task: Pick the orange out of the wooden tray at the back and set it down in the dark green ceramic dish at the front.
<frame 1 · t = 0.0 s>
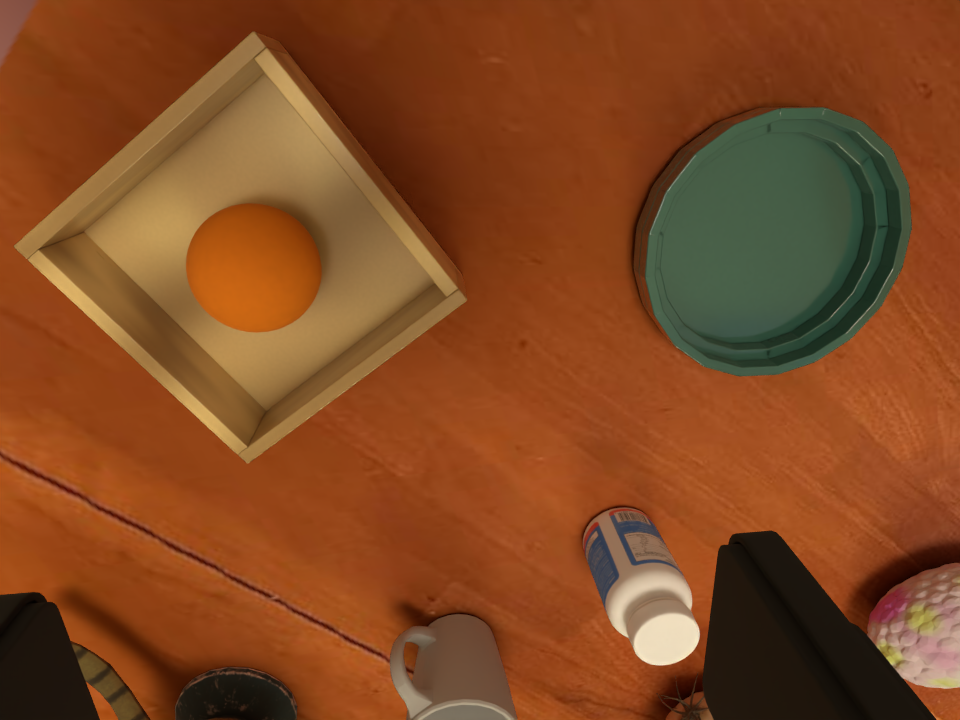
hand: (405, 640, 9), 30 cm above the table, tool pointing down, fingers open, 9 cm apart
wooden tray: (272, 252, 37), on the table
teapot: (204, 682, 49), on the table
sculpture: (702, 709, 54), on the table
pill bottle: (617, 534, 46), on the table
cup: (445, 630, 49), on the table
orange: (256, 268, 33), point 4 cm above the table, touching wooden tray
decorative item: (919, 586, 51), on the table
dish: (755, 242, 39), on the table
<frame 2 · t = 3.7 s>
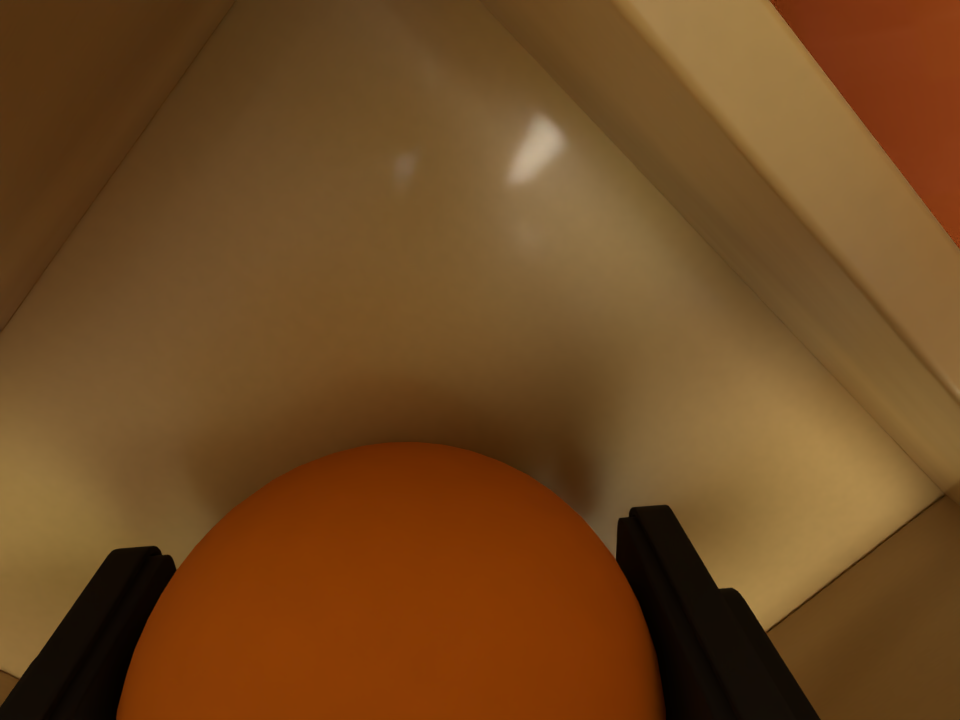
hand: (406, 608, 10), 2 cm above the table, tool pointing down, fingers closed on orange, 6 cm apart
wooden tray: (410, 516, 12), on the table
orange: (402, 697, 8), point 4 cm above the table, touching wooden tray, gripper
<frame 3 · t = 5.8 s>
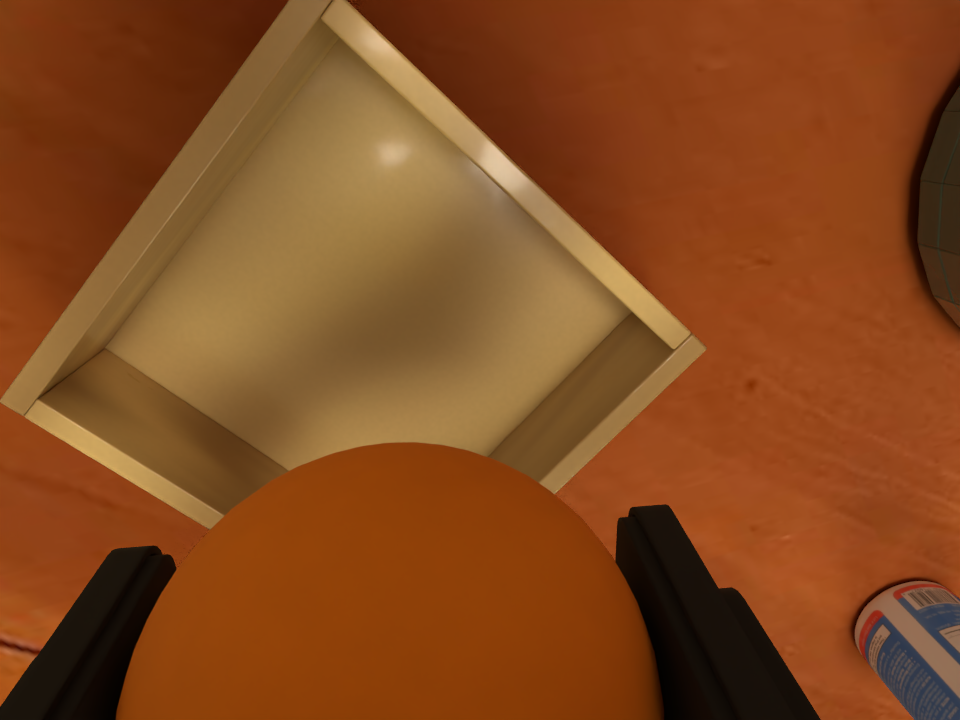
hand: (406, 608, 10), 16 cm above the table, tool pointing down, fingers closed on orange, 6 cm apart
wooden tray: (375, 323, 25), on the table
pill bottle: (900, 616, 33), on the table
orange: (402, 697, 8), point 18 cm above the table, touching gripper
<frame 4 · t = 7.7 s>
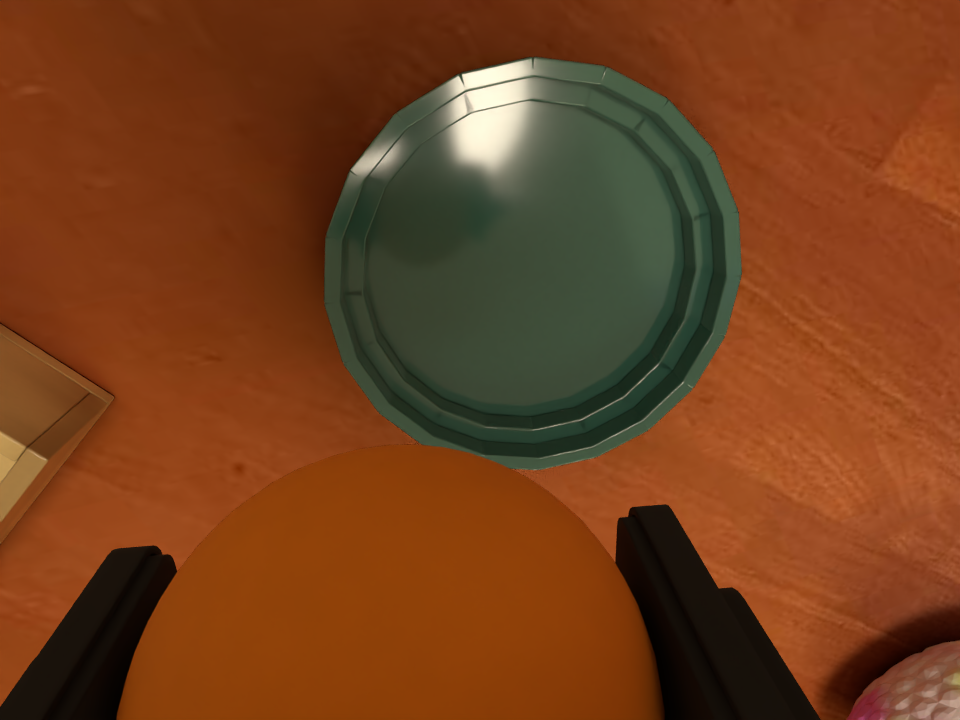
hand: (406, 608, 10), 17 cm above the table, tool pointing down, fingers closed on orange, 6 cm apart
orange: (402, 699, 8), point 19 cm above the table, touching gripper
decorative item: (914, 668, 37), on the table
dish: (525, 270, 26), on the table
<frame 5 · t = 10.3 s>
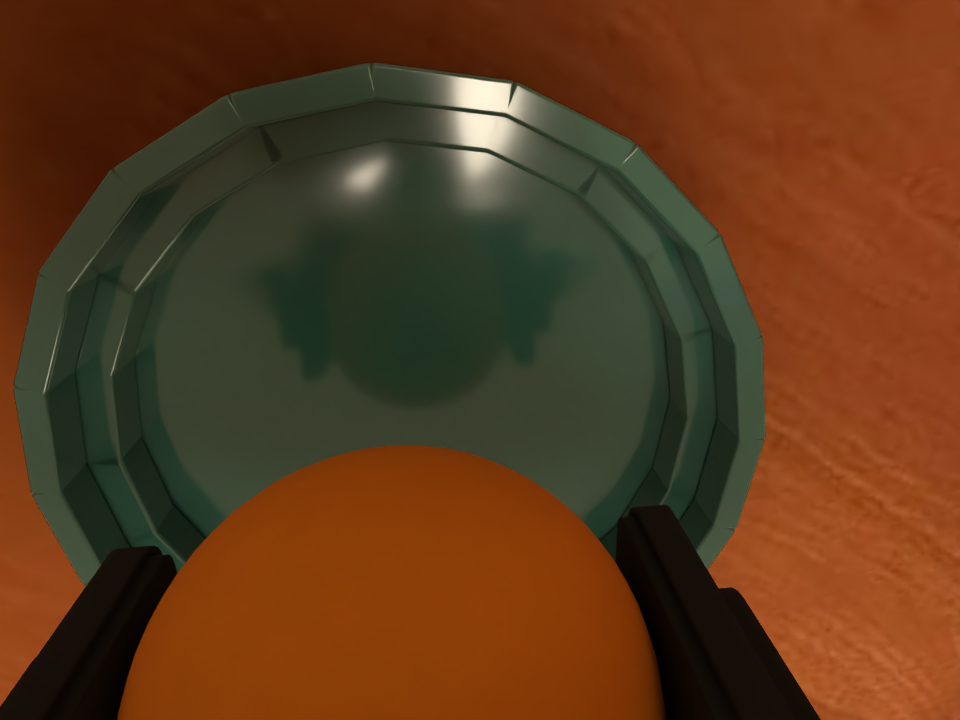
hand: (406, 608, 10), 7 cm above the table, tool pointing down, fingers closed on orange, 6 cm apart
orange: (403, 700, 8), point 8 cm above the table, touching gripper
dish: (412, 406, 16), on the table
when the fingers open (2 cm above the table, at t = 12.0 s): orange stays where it is, resting on dish.
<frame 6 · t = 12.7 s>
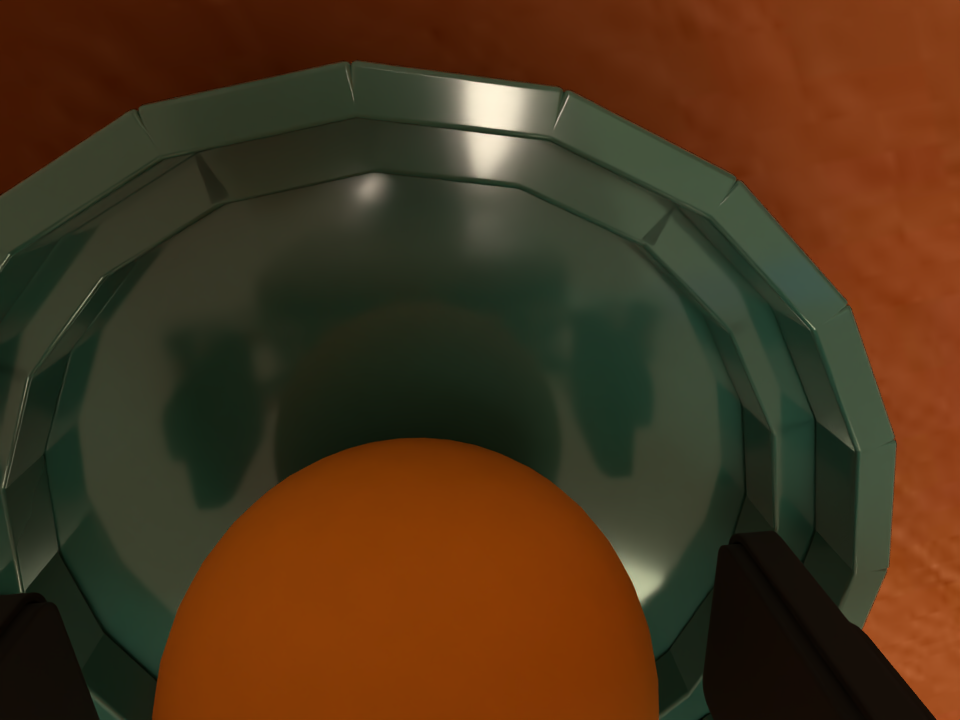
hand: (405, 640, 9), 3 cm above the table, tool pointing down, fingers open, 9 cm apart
orange: (415, 674, 9), point 4 cm above the table, touching dish
dish: (412, 504, 12), on the table
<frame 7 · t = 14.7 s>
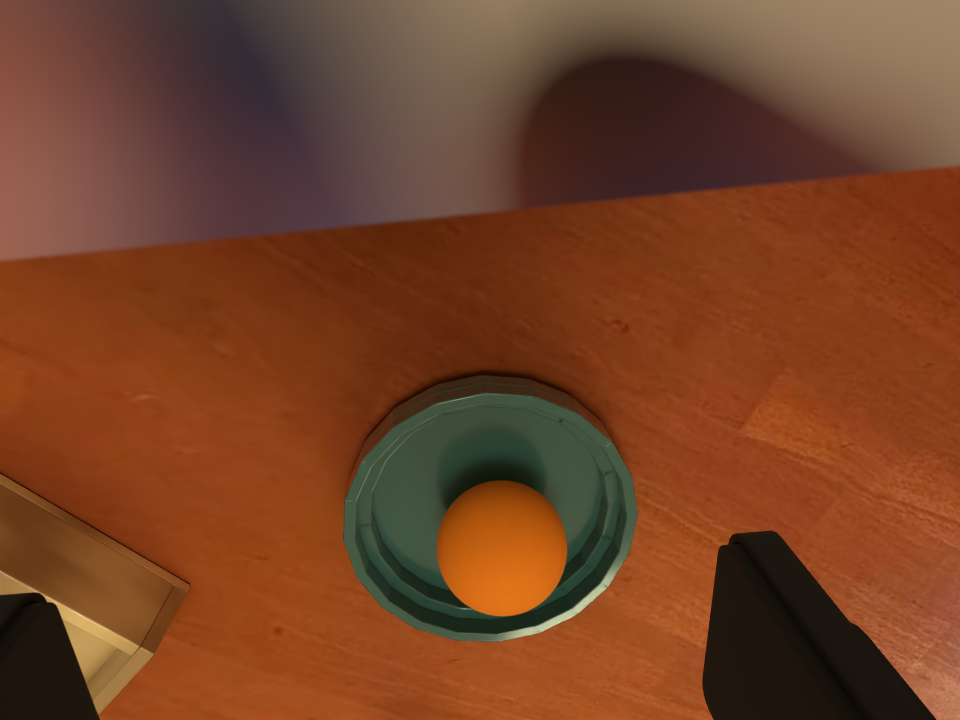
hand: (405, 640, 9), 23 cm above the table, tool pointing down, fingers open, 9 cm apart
orange: (501, 546, 33), point 4 cm above the table, tilted 9°, touching dish
dish: (487, 497, 36), on the table
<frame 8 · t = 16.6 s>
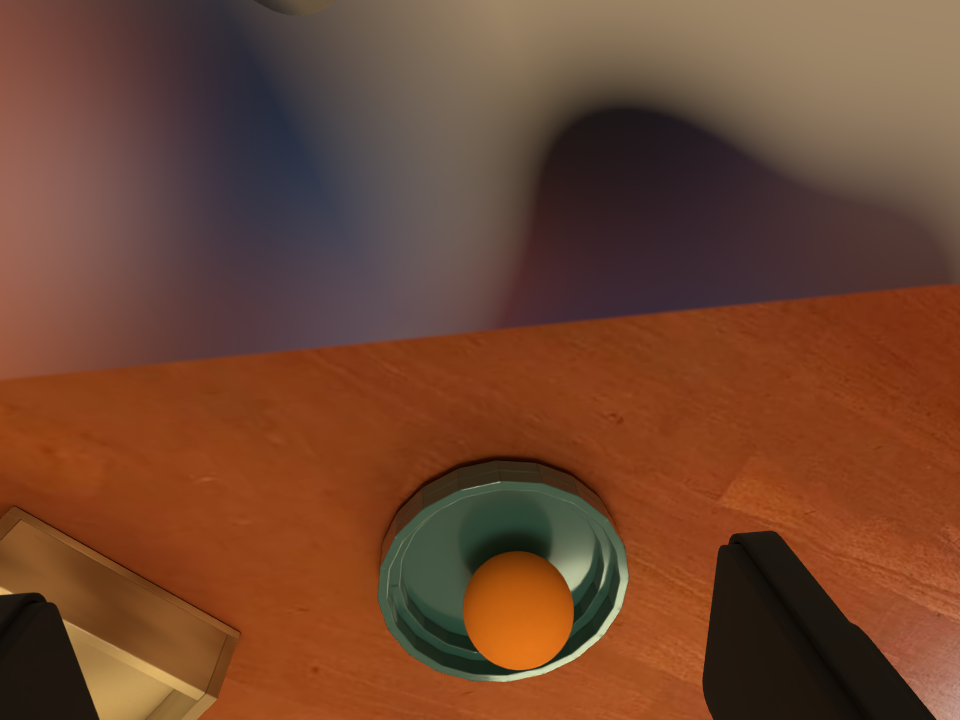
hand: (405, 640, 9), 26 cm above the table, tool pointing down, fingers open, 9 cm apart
wooden tray: (68, 647, 42), on the table
orange: (518, 608, 38), point 4 cm above the table, tilted 15°, touching dish
dish: (500, 558, 41), on the table
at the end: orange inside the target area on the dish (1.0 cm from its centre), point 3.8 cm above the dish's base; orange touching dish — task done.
